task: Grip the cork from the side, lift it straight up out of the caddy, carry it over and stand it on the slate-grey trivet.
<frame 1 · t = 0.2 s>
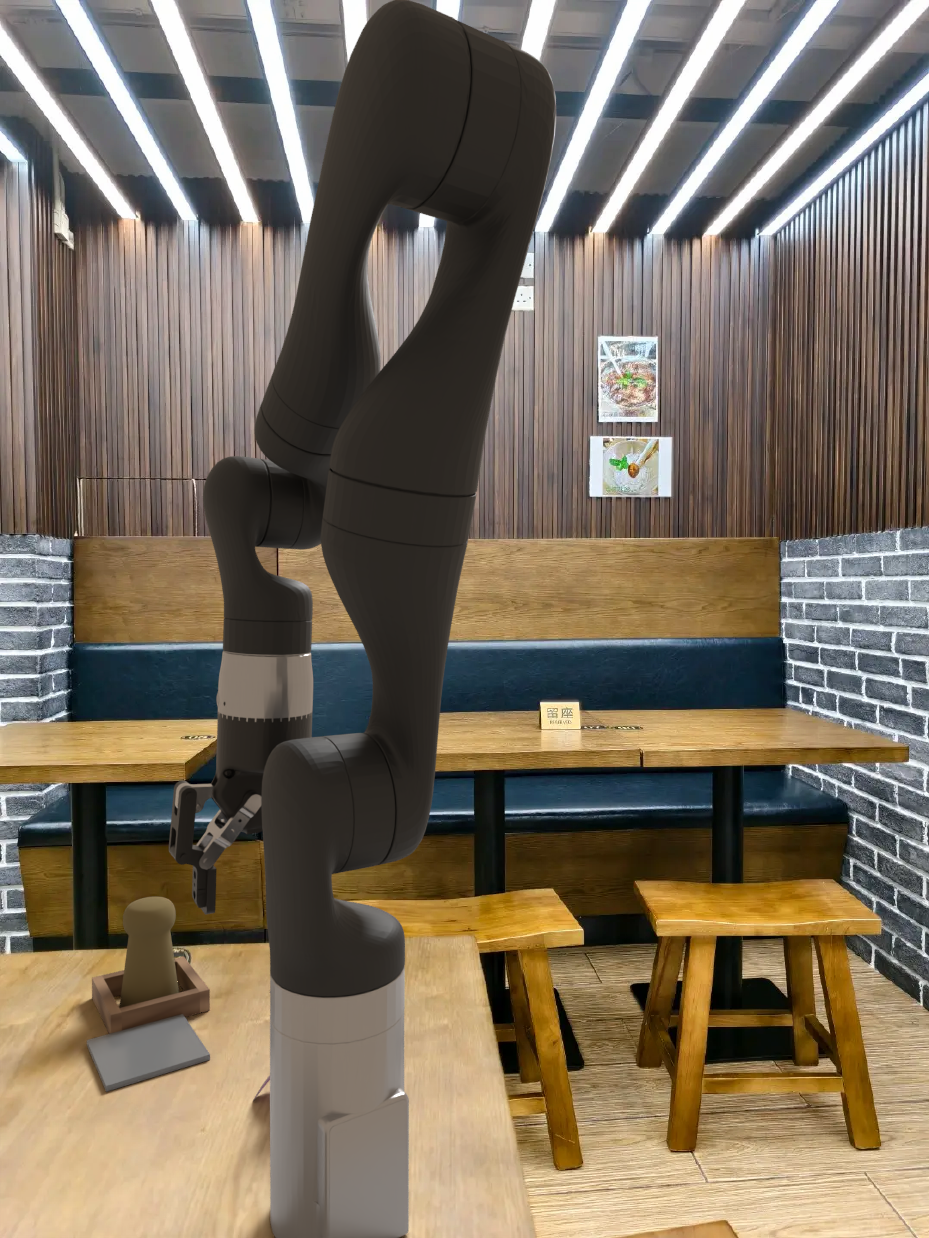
hand: (259, 901, 69), 18 cm above the table, tool pointing down, fingers open, 8 cm apart
cork: (150, 1006, 87), resting in caddy
caddy: (149, 1003, 87), on the table
trivet: (147, 1052, 78), on the table
lily: (314, 1087, 73), on the table
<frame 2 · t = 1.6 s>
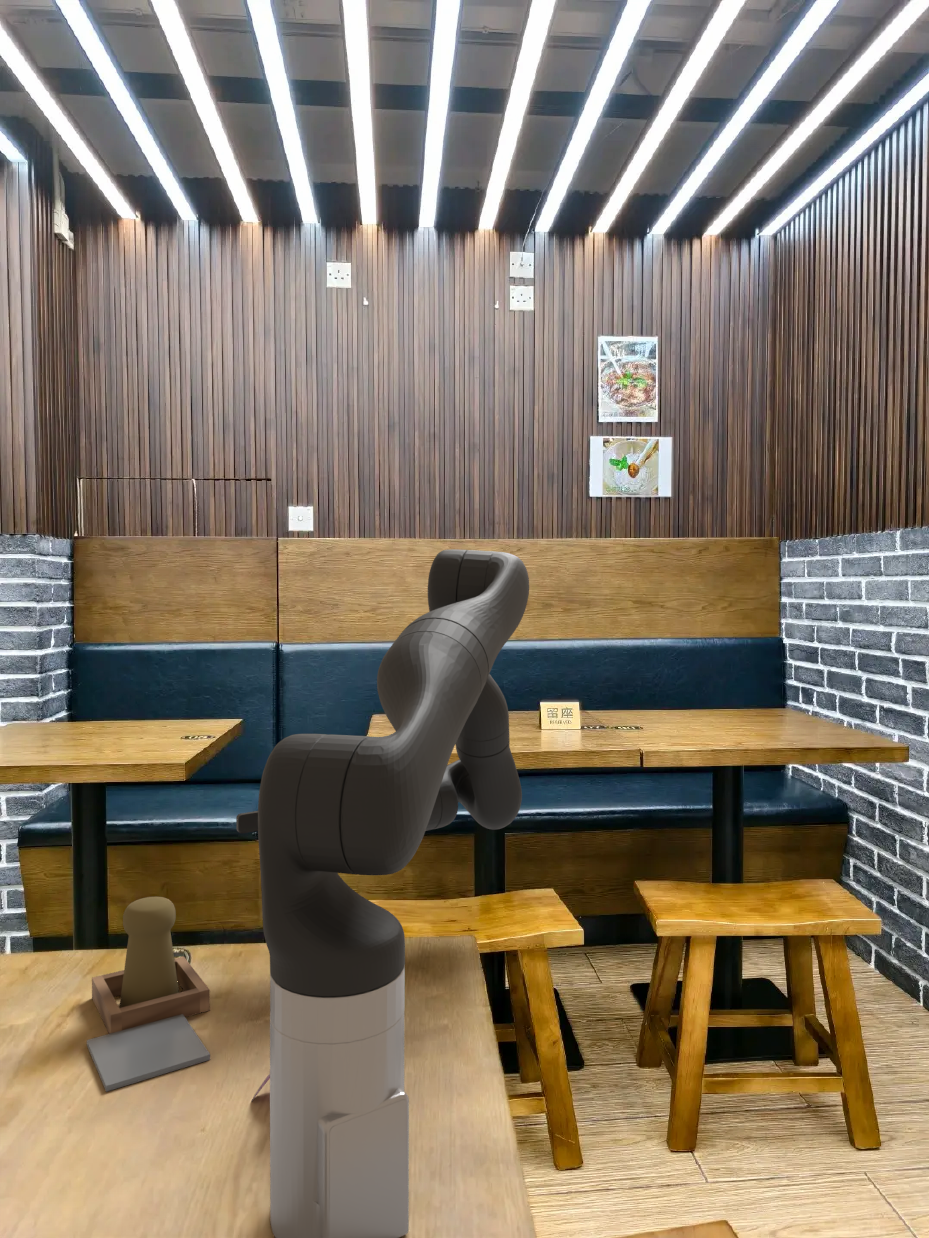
hand: (250, 833, 93), 16 cm above the table, tool horizontal, fingers open, 8 cm apart
nothing on the table moved.
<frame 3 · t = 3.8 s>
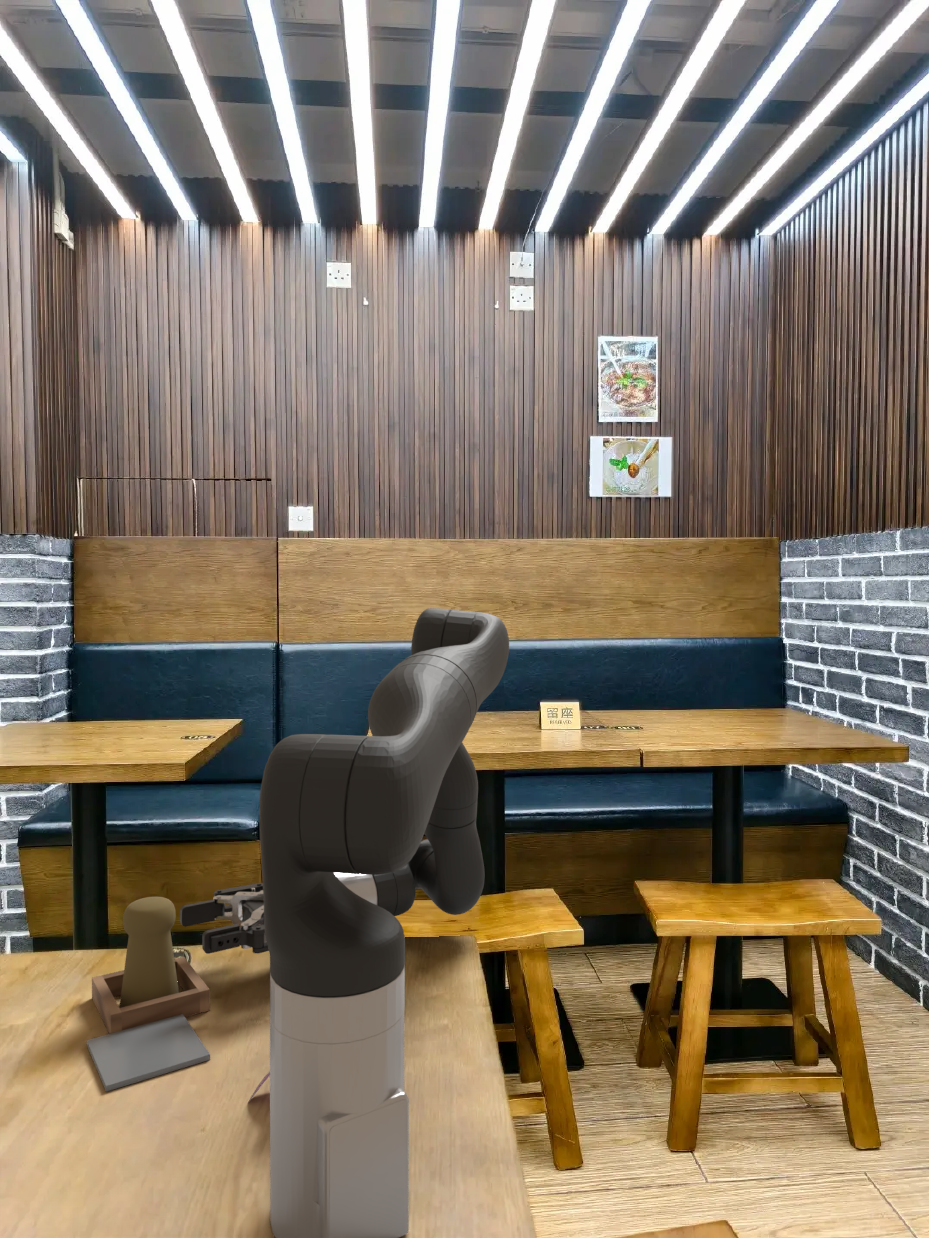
hand: (191, 929, 89), 7 cm above the table, tool horizontal, fingers open, 8 cm apart
nothing on the table moved.
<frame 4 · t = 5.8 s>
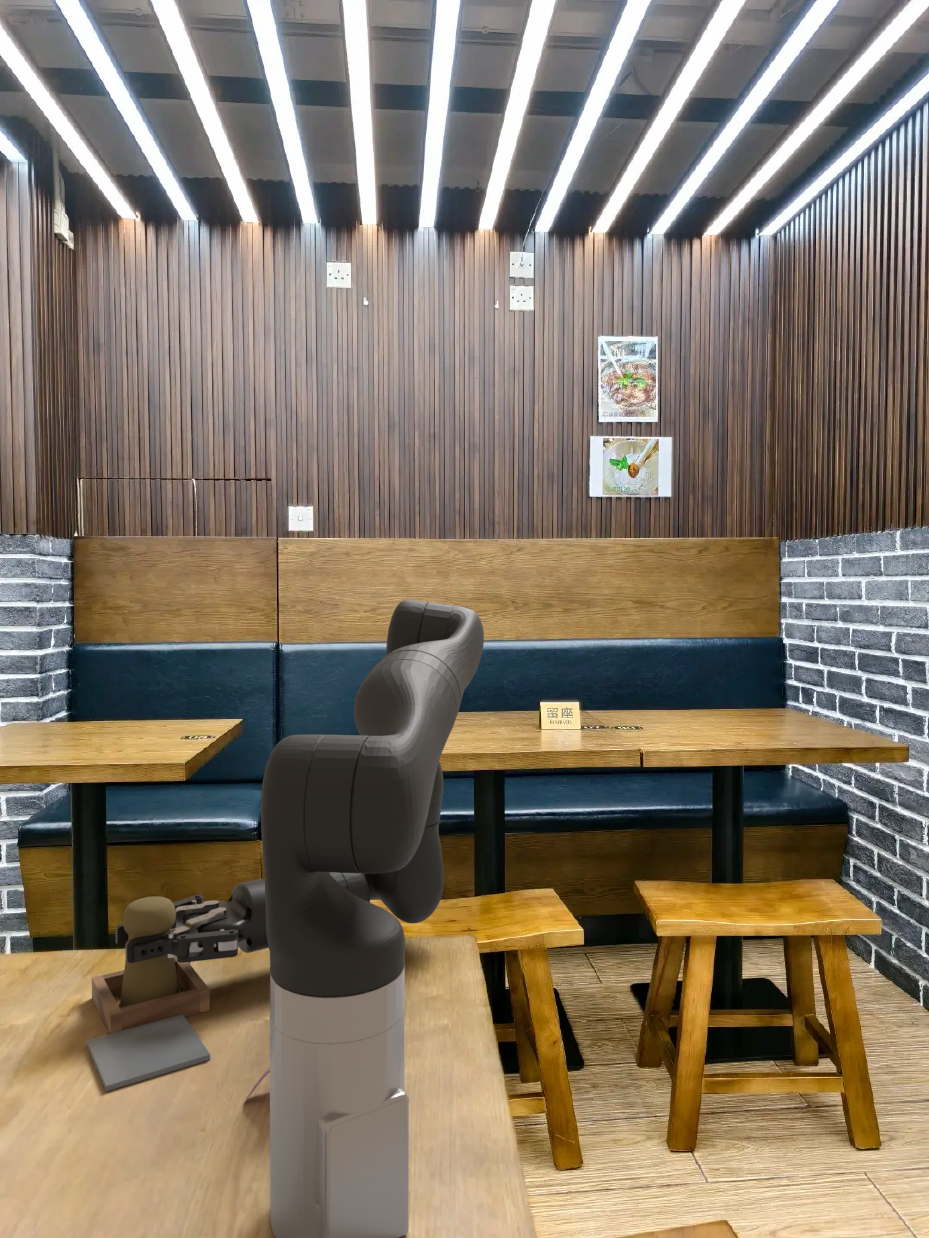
hand: (122, 943, 86), 7 cm above the table, tool horizontal, fingers closed on cork, 4 cm apart
cork: (150, 1005, 87), resting in caddy, touching gripper
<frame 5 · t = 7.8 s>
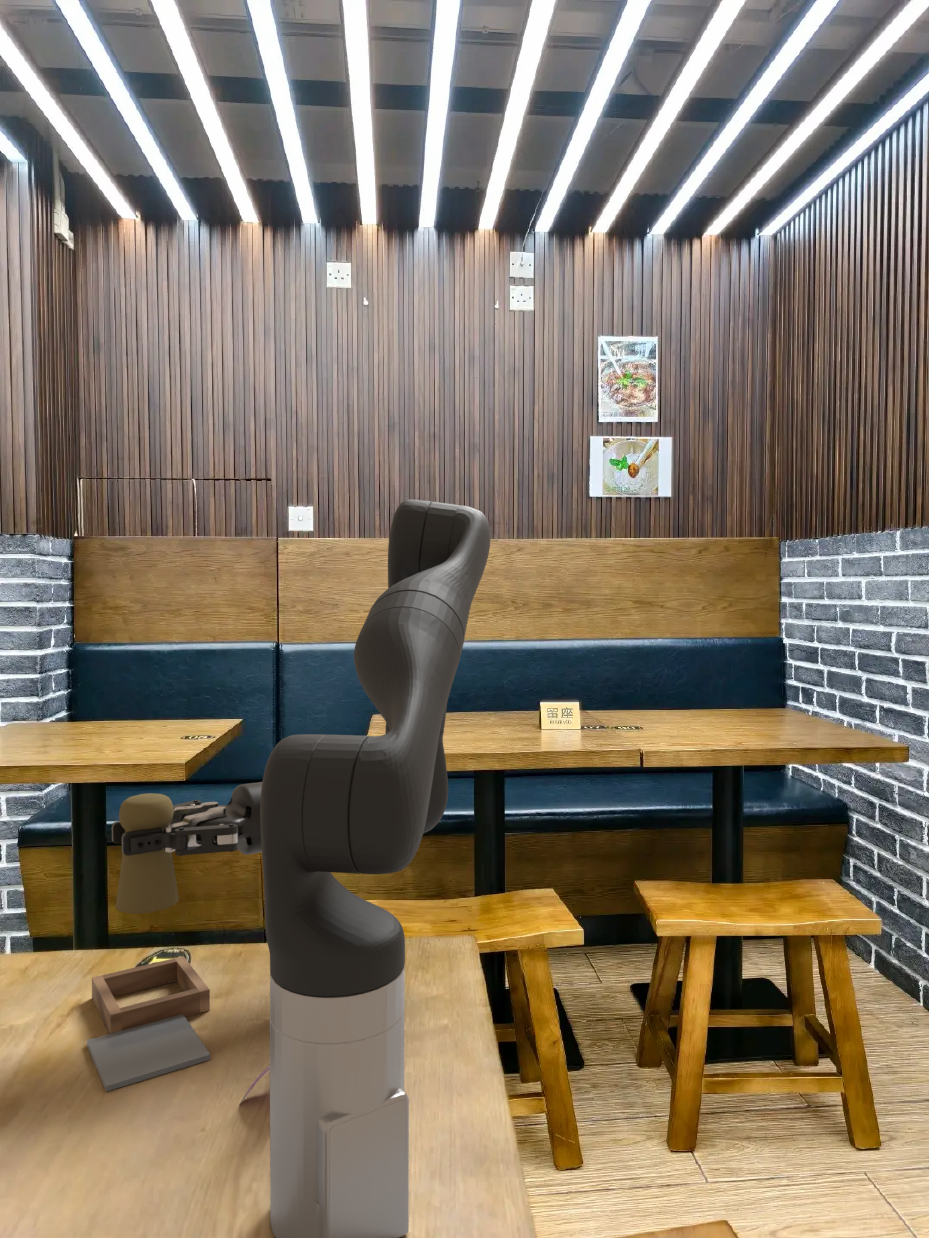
hand: (118, 838, 83), 19 cm above the table, tool horizontal, fingers closed on cork, 4 cm apart
cork: (147, 904, 85), point 11 cm above the table, touching gripper
when the fingers open (8 cm above the table, at t = 10.3 s): cork moves 3 cm, resting on trivet.
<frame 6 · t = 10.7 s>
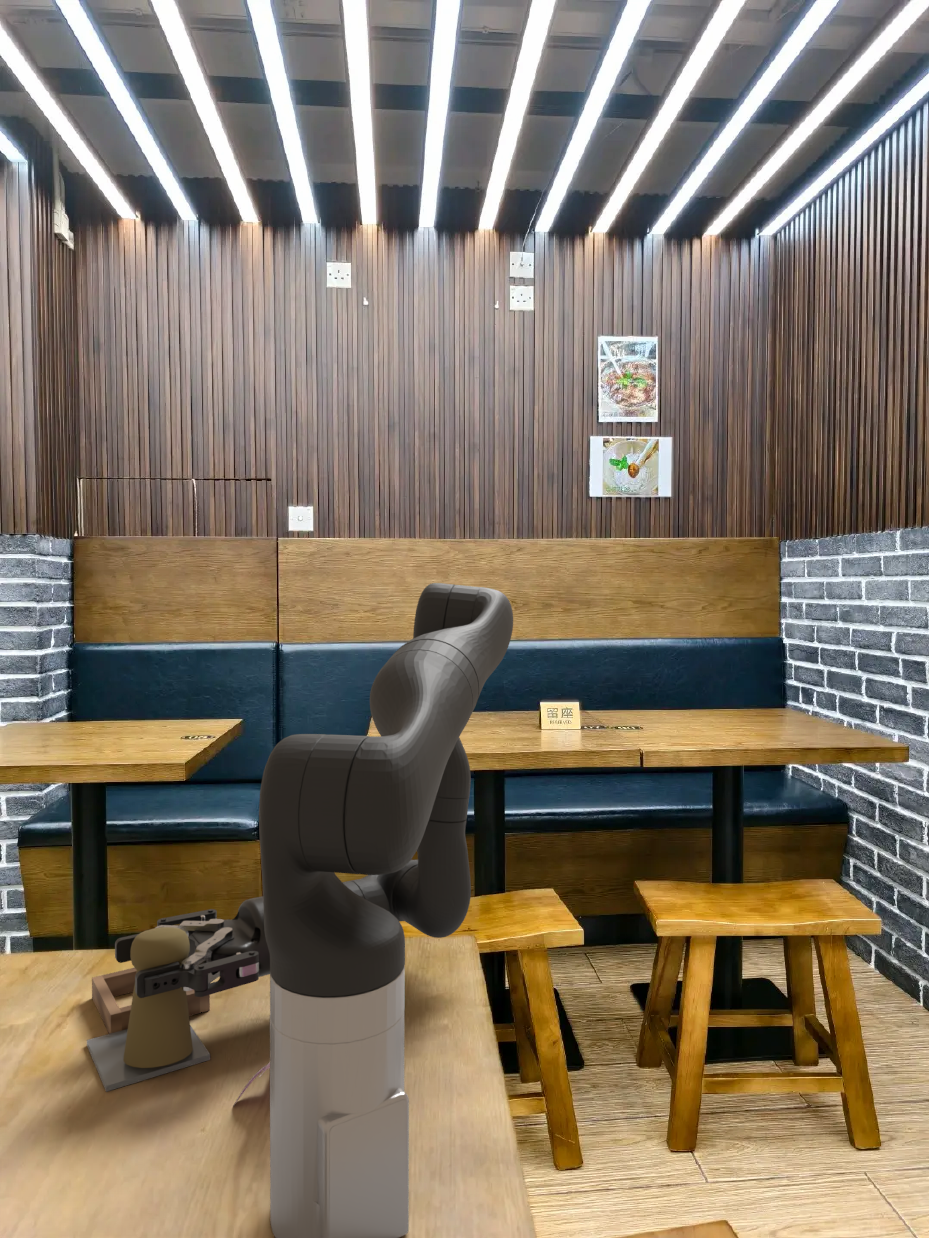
hand: (125, 967, 77), 9 cm above the table, tool horizontal, fingers open, 8 cm apart
cork: (158, 1055, 76), point 1 cm above the table, touching gripper, trivet
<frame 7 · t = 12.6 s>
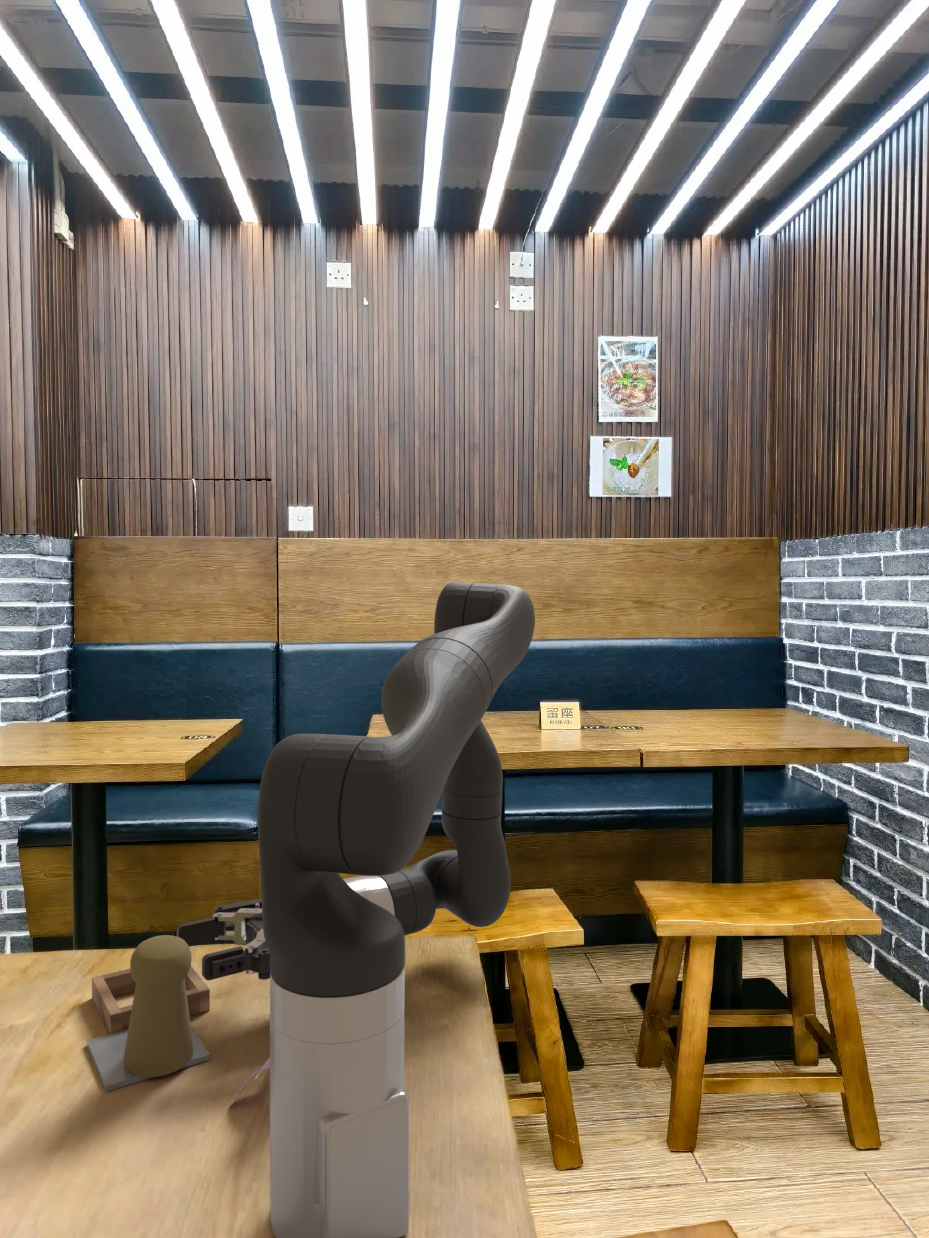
hand: (189, 952, 80), 9 cm above the table, tool horizontal, fingers open, 8 cm apart
cork: (158, 1055, 76), point 1 cm above the table, touching trivet
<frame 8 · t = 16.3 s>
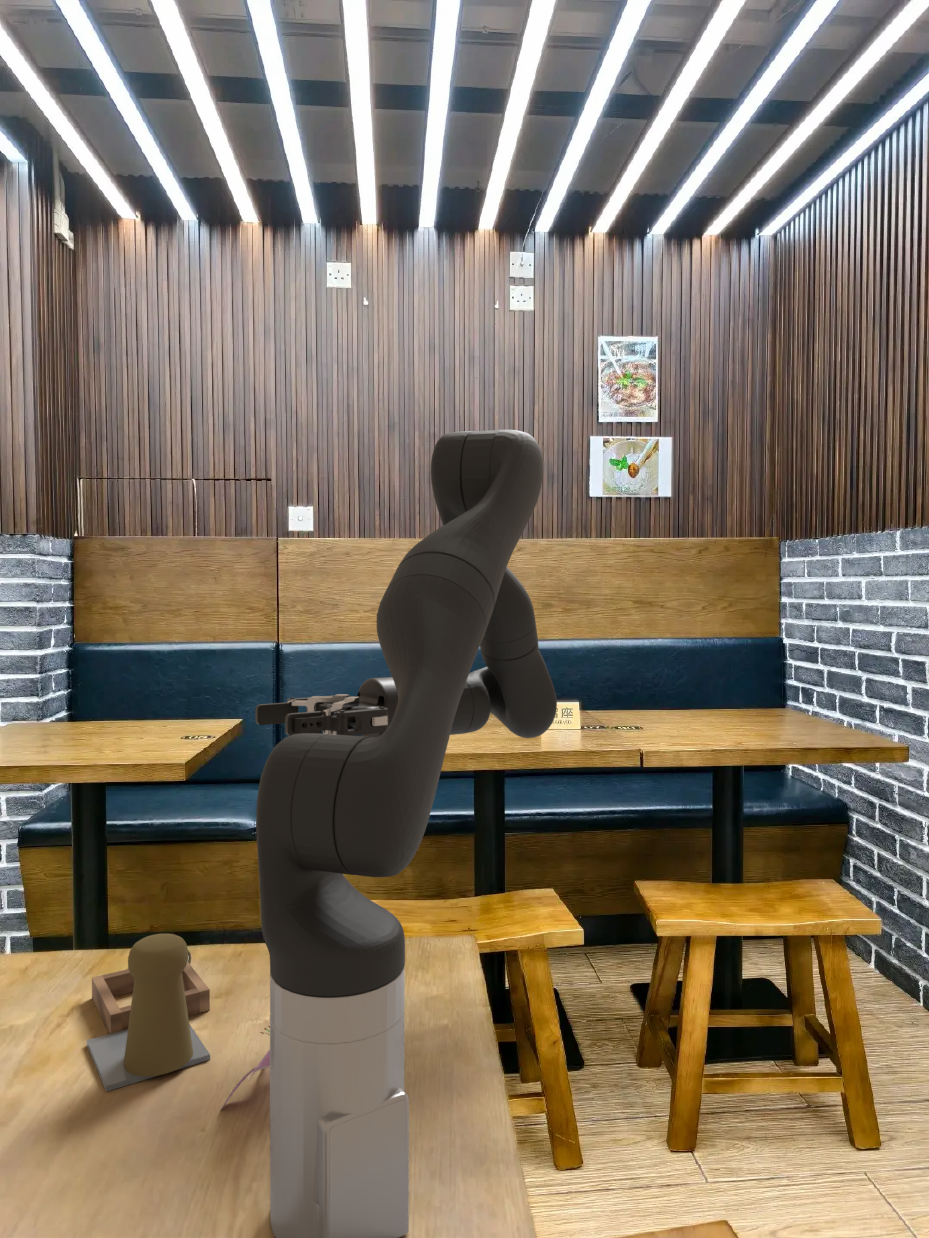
hand: (270, 719, 87), 30 cm above the table, tool horizontal, fingers open, 8 cm apart
at the end: cork 2.5 cm from the trivet (horizontally); cork tilted 0°; the gripper is holding nothing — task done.
